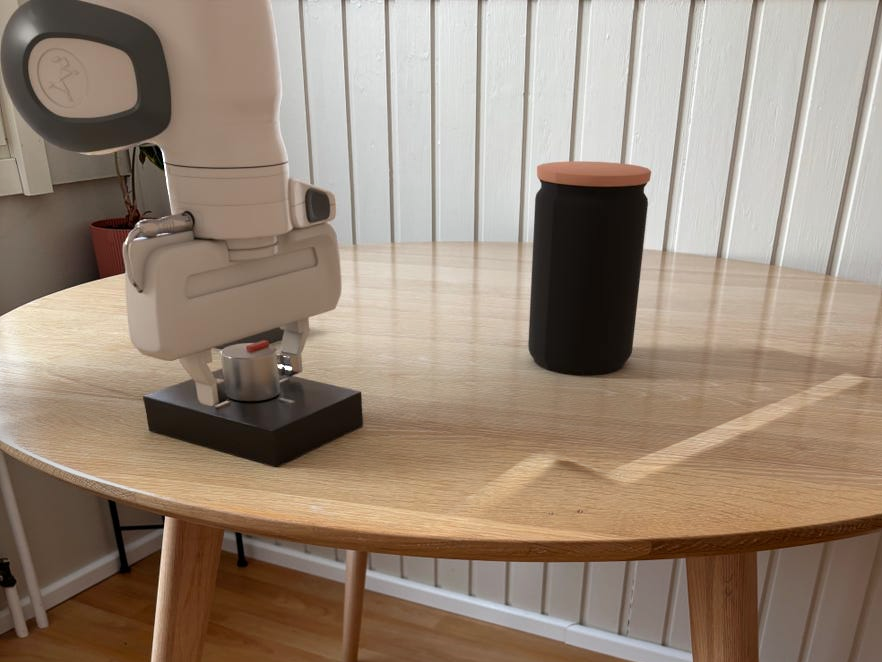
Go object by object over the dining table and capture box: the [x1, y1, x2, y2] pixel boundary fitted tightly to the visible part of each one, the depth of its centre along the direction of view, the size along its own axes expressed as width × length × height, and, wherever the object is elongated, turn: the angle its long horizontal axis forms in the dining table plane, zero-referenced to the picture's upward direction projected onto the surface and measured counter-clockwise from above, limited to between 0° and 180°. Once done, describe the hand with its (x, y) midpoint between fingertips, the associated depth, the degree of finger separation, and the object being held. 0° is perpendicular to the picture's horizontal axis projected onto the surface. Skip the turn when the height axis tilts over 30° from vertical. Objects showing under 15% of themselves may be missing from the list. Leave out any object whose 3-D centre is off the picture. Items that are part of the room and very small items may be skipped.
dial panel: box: [142, 367, 364, 468], centre depth 78 cm, size 14×11×3 cm
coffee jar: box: [527, 160, 652, 376], centre depth 92 cm, size 11×11×18 cm
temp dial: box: [220, 340, 280, 401], centre depth 76 cm, size 4×4×4 cm
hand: (252, 387), depth 77 cm, fingers open, 8 cm apart
